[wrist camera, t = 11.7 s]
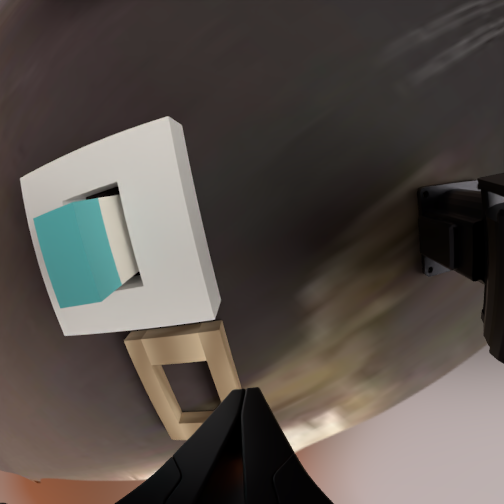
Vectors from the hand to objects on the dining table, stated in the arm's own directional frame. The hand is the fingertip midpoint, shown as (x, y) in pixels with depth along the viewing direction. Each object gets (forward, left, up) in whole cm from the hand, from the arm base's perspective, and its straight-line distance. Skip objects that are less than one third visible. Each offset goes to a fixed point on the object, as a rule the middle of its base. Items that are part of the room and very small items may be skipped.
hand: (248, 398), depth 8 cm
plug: (+9, -5, -12) cm, 15 cm away
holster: (+7, +8, -12) cm, 16 cm away
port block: (+9, -5, -12) cm, 15 cm away
